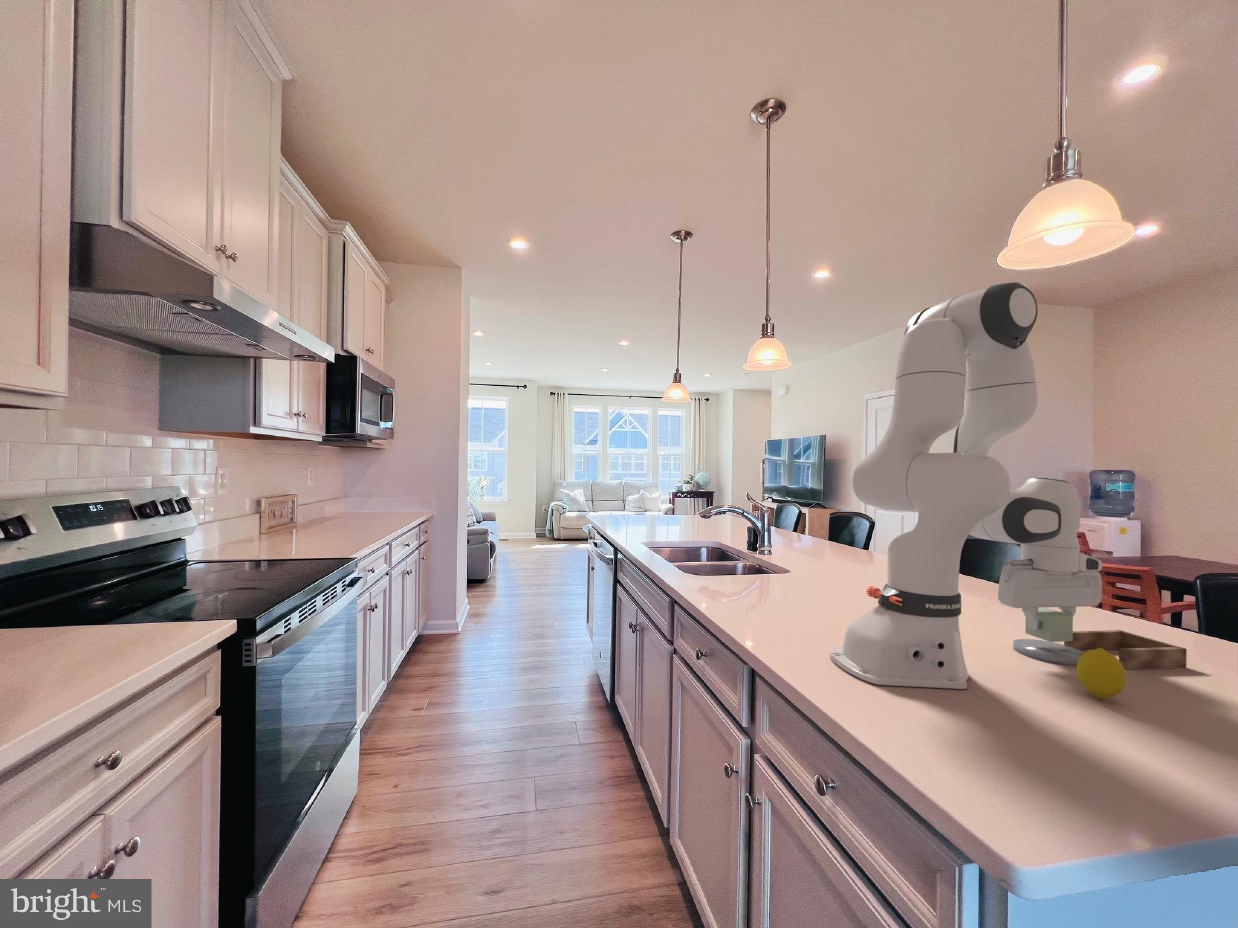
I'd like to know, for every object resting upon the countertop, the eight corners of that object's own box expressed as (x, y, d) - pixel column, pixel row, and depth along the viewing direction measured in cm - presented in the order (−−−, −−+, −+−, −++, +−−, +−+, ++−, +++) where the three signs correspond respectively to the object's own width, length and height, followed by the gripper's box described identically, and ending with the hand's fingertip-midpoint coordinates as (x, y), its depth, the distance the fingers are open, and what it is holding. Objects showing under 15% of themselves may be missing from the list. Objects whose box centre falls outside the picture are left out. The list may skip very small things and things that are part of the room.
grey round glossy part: (1053, 666, 90) (1053, 659, 90) (999, 645, 101) (999, 639, 101) (1103, 664, 92) (1103, 658, 92) (1045, 643, 103) (1045, 638, 103)
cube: (1050, 641, 94) (1050, 616, 94) (1025, 633, 99) (1025, 608, 99) (1072, 641, 95) (1072, 615, 95) (1046, 632, 100) (1046, 608, 100)
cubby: (1125, 669, 90) (1125, 650, 90) (1064, 648, 100) (1064, 631, 100) (1186, 667, 91) (1186, 648, 92) (1120, 646, 102) (1120, 630, 102)
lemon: (1103, 692, 80) (1104, 643, 80) (1136, 708, 74) (1136, 655, 74) (1067, 689, 80) (1067, 641, 80) (1096, 705, 75) (1097, 653, 75)
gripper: (1018, 562, 92) (1018, 635, 92) (1109, 561, 95) (1109, 632, 95) (989, 556, 99) (988, 624, 99) (1075, 556, 102) (1074, 622, 101)
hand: (1048, 628), depth 97 cm, fingers closed on cube, 5 cm apart
